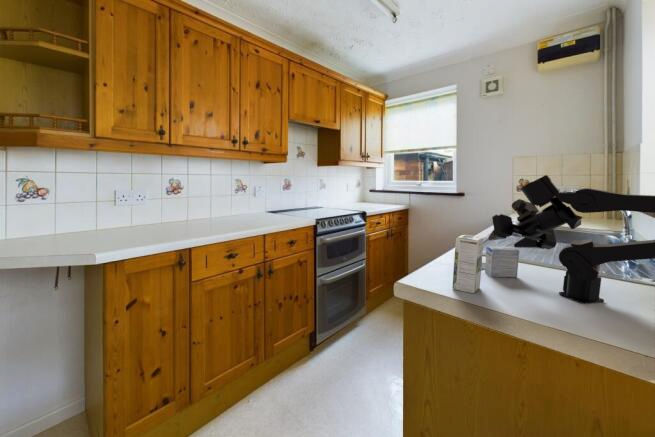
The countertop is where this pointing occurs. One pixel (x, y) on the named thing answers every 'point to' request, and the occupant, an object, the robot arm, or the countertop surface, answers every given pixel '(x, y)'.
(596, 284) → the robot arm
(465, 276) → the syrup box
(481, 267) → the mat
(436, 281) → the countertop surface
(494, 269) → the medicine box
